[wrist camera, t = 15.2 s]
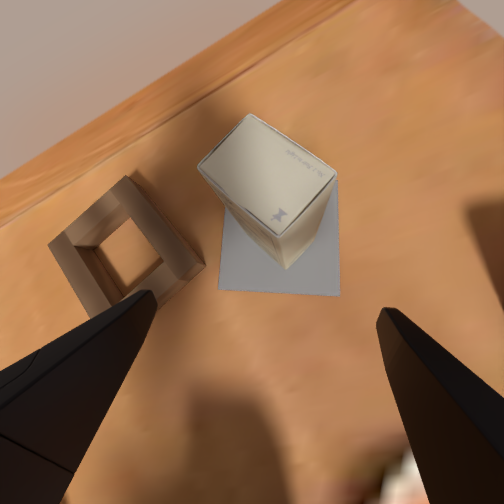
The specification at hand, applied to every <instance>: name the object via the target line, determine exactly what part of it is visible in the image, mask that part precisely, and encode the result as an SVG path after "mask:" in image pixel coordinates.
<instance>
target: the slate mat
mask: <svg viewBox="0 0 504 504" xmlns="http://www.w3.org/2000/svg"><path fill="white" fill-rule="evenodd" d="M218 289H219V290H236V291H254V292H271V293H289V294H306V295H323V296H340V269H339V222H338V180H336V181H335V184H334V186H333V189H332V192H331V195H330V198H329V201H328V203H327V206H326V209H325V212H324V215H323V217H322V220H321V223H320V226H319V228H318V231H317V234H316V236H315V239H314V241H313V242H312V244H311V245H310V246H309V247H308V248H307V249H306V250H305V251H304V252H303V253H302V255H301V256H300V257H299V258H298V259H297V260H296V261H295V262H294V263H293V264H292V265H291V266H290V267H289V268H288V269H287V270H285V269H284V268H283V267H281V266H280V265H279V264H278V263H277V262H276V261H275V260H273V259H272V258H271V257H270V256H269V255H268V254H267V253H266V252H265V251H264V250H263V249H261V248H260V247H259V246H258V245H257V244H256V243H255V242H254V241H253V240H252V239H251V238H250V237H249V236H248V235H247V234H246V233H245V232H244V230H243V229H242V228H241V226H240V225H239V224H238V222H237V221H236V220H235V218H234V217H233V216H232V214H231V213H230V212H229V210H228V209H227V208H226V206H225V216H224V227H223V239H222V250H221V261H220V273H219V284H218Z"/></svg>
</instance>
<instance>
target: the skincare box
mask: <svg viewBox="0 0 504 504" xmlns="http://www.w3.org/2000/svg"><path fill="white" fill-rule="evenodd" d="M197 169H198V171H199V172H200V174H201V175H202V176H203V178H204V179H205V180H206V181H207V183H208V184H209V185H210V187H211V188H212V189H213V191H214V192H215V193H216V195H217V196H218V197H219V199H220V200H221V201H222V203H223V204H224V205H225V206H226V208H227V209H228V210H229V212H230V213H231V214H232V216H233V217H234V218H235V220H236V221H237V222H238V224H239V225H240V226H241V228H242V229H243V230H244V232H245V233H246V234H247V235H248V236H249V237H250V238H251V239H252V240H253V241H254V242H255V243H256V244H257V245H258V246H259V247H260V248H261V249H263V250H264V251H265V252H266V253H267V254H268V255H269V256H270V257H271V258H272V259H273V260H275V261H276V262H277V263H278V264H279V265H280V266H281V267H283V268H284V269H285V270H287V269H288V268H289V267H290V266H291V265H292V264H293V263H294V262H295V261H296V260H297V259H298V258H299V257H300V256H301V255H302V253H303V252H304V251H305V250H306V249H307V248H308V247H309V246H310V245H311V244H312V242H313V241H314V239H315V236H316V234H317V231H318V228H319V226H320V223H321V220H322V217H323V215H324V212H325V209H326V206H327V203H328V201H329V198H330V195H331V192H332V189H333V186H334V184H335V181H336V178H337V172H336V171H335V170H334V169H332V168H331V167H330V166H329V165H327V164H326V163H324V162H323V161H322V160H320V159H319V158H318V157H316V156H315V155H313V154H312V153H310V152H309V151H307V150H306V149H304V148H303V147H302V146H300V145H299V144H297V143H296V142H294V141H293V140H291V139H290V138H288V137H287V136H286V135H284V134H282V133H281V132H279V131H278V130H276V129H275V128H273V127H272V126H270V125H268V124H267V123H265V122H264V121H262V120H261V119H259V118H258V117H256V116H254V115H253V114H251V113H250V114H248V115H246V116H245V118H243V119H242V120H241V121H240V122H239V123H238V124H237V125H236V126H235V127H234V128H233V129H232V130H231V131H230V132H229V133H228V134H227V135H226V136H225V137H224V138H223V139H222V140H221V141H220V142H219V143H218V144H217V145H216V146H215V147H214V148H213V149H212V150H211V151H210V152H209V154H208V155H206V156H205V157H204V158H203V159H202V161H201V162H200V163H199V164H198V165H197Z"/></svg>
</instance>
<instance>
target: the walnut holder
mask: <svg viewBox="0 0 504 504" xmlns="http://www.w3.org/2000/svg"><path fill="white" fill-rule="evenodd" d="M130 217H131V218H132V220H133V221H134V222H135V224H136V225H137V226H138V228H139V229H140V230H141V232H142V233H143V234H144V235H145V237H146V238H147V239H148V241H149V242H150V243H151V245H152V246H153V247H154V249H155V250H156V251H157V253H158V254H159V255H160V257H161V258H162V259H163V260H164V262H163V263H162V264H161V265H160V266H158V267H157V268H156V269H155V270H154V271H153V272H152V273H151V274H150V275H149V276H147V277H146V278H145V279H144V280H143V281H142V282H141V283H140V284H139V285H138V286H136V287H135V288H134V289H133V290H132V291H131V292H130V293H129V294H128V295H126V296H125V297H123V295H122V294H121V292H120V291H119V289H118V288H117V286H116V284H115V283H114V281H113V280H112V278H111V277H110V275H109V274H108V272H107V271H106V269H105V268H104V266H103V265H102V263H101V262H100V260H99V259H98V257H97V255H96V254H95V252H94V251H93V250H94V249H95V248H96V247H97V246H98V245H99V244H101V243H102V242H103V241H104V240H105V239H106V238H107V237H108V236H109V235H111V234H112V233H113V232H114V231H115V230H116V229H117V228H118V227H120V226H121V225H122V224H123V223H124V222H125V221H126V220H127V219H128V218H130ZM48 247H49V249H50V250H51V252H52V254H53V255H54V257H55V259H56V261H57V262H58V264H59V266H60V267H61V269H62V271H63V273H64V274H65V276H66V278H67V279H68V281H69V283H70V285H71V286H72V288H73V290H74V292H75V293H76V295H77V297H78V298H79V300H80V302H81V304H82V305H83V307H84V309H85V310H86V312H87V314H88V316H89V317H90V319H91V318H93V317H95V316H96V315H98V314H100V313H102V312H103V311H105V310H107V309H108V308H110V307H112V306H114V305H115V304H117V303H119V302H120V301H122V300H124V299H126V298H127V297H129V296H131V295H132V294H134V293H136V292H138V291H139V290H141V289H149V290H152V291H153V293H154V295H155V298H156V300H157V303H158V308H157V310H159V309H160V308H161V307H162V306H163V305H164V304H165V303H166V302H167V301H168V300H169V299H171V298H172V297H173V296H174V295H175V294H176V293H177V292H178V291H179V290H180V289H182V288H183V287H184V286H185V285H186V284H187V283H188V282H189V281H190V280H191V279H193V278H194V277H195V276H196V275H197V274H198V273H199V272H200V271H201V270H202V269H204V268H205V267H206V265H205V264H204V263H203V261H202V260H201V259H200V258H199V257H198V255H197V254H196V253H195V252H194V251H193V249H192V248H191V247H190V246H189V244H188V243H187V242H186V241H185V240H184V238H183V237H182V236H181V235H180V234H179V232H178V231H177V230H176V229H175V228H174V226H173V225H172V224H171V223H170V221H169V220H168V219H167V218H166V217H165V215H164V214H163V213H162V212H161V211H160V209H159V208H158V207H157V206H156V204H155V203H154V202H153V201H152V200H151V198H150V197H149V196H148V195H147V194H146V192H145V191H144V190H143V189H142V188H141V186H140V185H138V184H137V183H136V182H134V181H133V180H132V179H130V178H129V177H128V176H126V175H125V176H124V177H123V178H122V179H121V180H120V181H118V182H117V183H116V184H115V185H114V186H113V187H112V188H111V189H109V190H108V191H107V192H106V193H105V194H104V195H103V196H102V197H101V198H99V199H98V200H97V201H96V202H95V203H94V204H93V205H92V206H90V207H89V208H88V209H87V210H86V211H85V212H84V213H83V214H81V215H80V216H79V217H78V218H77V219H76V220H75V221H74V222H73V223H71V224H70V225H69V226H68V227H67V228H66V229H65V230H64V231H62V232H61V233H60V234H59V235H58V236H57V237H56V238H55V239H54V240H52V241H51V242H50V243H49V244H48Z"/></svg>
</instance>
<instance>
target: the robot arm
mask: <svg viewBox="0 0 504 504" xmlns="http://www.w3.org/2000/svg"><path fill="white" fill-rule="evenodd" d="M157 308H158V303H157V300H156V298H155V295H154V293H153V291H152V290H149V289H141V290H139V291H138V292H136V293H134V294H132V295H131V296H129V297H127V298H126V299H124V300H122V301H120V302H119V303H117V304H115V305H114V306H112V307H110V308H108V309H107V310H105V311H103V312H102V313H100V314H98V315H96V316H95V317H93V318H91V319H90V320H88V321H86V322H84V323H83V324H81V325H79V326H78V327H76V328H74V329H72V330H71V331H69V332H67V333H66V334H64V335H62V336H60V337H59V338H57V339H55V340H54V341H52V342H50V343H48V344H47V345H45V346H43V347H42V348H41V349H38V350H36V351H35V352H33V353H31V354H30V355H28V356H26V357H24V358H23V359H21V360H19V361H17V362H16V363H14V364H12V365H10V366H8V367H7V368H5V369H3V370H1V371H0V504H59V503H60V501H61V500H62V498H63V496H64V494H65V492H66V490H67V488H68V486H69V484H70V482H71V480H72V479H73V477H74V473H75V472H76V471H77V469H78V467H79V465H80V463H81V461H82V459H83V457H84V455H85V453H86V452H87V450H88V448H89V446H90V444H91V442H92V440H93V438H94V436H95V434H96V432H97V431H98V429H99V427H100V425H101V423H102V421H103V419H104V417H105V415H106V413H107V411H108V410H109V408H110V406H111V404H112V402H113V400H114V398H115V396H116V394H117V392H118V390H119V389H120V387H121V385H122V383H123V381H124V379H125V377H126V375H127V373H128V371H129V369H130V368H131V366H132V364H133V362H134V360H135V358H136V356H137V354H138V352H139V350H140V348H141V346H142V344H143V342H144V340H145V338H146V336H147V333H148V331H149V328H150V326H151V323H152V321H153V318H154V316H155V313H156V311H157ZM376 329H377V334H378V338H379V343H380V348H381V352H382V357H383V362H384V366H385V370H386V373H387V377H388V380H389V383H390V386H391V389H392V392H393V395H394V398H395V401H396V404H397V407H398V410H399V413H400V416H401V419H402V422H403V425H404V428H405V431H406V434H407V437H408V440H409V443H410V446H411V449H412V452H413V455H414V458H415V461H416V464H417V467H418V470H419V473H420V476H421V479H422V482H423V485H424V488H425V491H426V494H427V497H428V500H429V503H430V504H504V398H503V397H502V396H501V395H500V394H498V393H497V392H496V391H495V390H494V389H492V388H491V387H490V386H489V385H488V384H487V383H485V382H484V381H483V380H482V379H481V378H479V377H478V376H477V375H476V374H475V373H473V372H472V371H471V370H470V369H469V368H467V367H466V366H465V365H464V364H463V363H461V362H460V361H459V360H458V359H457V358H455V357H454V356H453V355H452V354H451V353H450V352H448V351H447V350H446V349H445V348H444V347H442V346H441V345H440V344H439V343H438V342H436V341H435V340H434V339H433V338H432V337H430V336H429V335H428V334H427V333H426V332H424V331H423V330H422V329H421V328H420V327H419V326H417V325H416V324H415V323H414V322H413V321H411V320H410V319H409V318H408V317H407V316H405V315H404V314H403V313H402V312H401V311H399V310H398V309H396V308H391V307H383V308H382V310H381V312H380V314H379V317H378V319H377V322H376Z"/></svg>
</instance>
